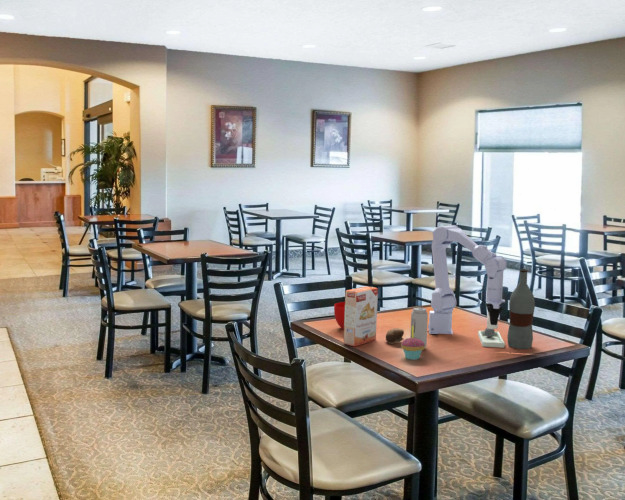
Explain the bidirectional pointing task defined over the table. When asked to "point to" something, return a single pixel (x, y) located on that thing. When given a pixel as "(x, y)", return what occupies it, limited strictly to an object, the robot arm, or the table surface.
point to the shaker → (490, 323)
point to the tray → (491, 340)
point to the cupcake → (412, 346)
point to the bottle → (521, 315)
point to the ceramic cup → (340, 313)
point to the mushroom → (394, 335)
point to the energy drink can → (419, 324)
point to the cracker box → (360, 315)
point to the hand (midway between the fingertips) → (492, 323)
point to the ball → (489, 332)
